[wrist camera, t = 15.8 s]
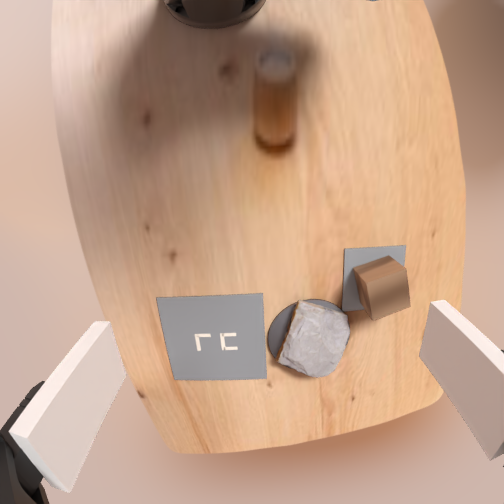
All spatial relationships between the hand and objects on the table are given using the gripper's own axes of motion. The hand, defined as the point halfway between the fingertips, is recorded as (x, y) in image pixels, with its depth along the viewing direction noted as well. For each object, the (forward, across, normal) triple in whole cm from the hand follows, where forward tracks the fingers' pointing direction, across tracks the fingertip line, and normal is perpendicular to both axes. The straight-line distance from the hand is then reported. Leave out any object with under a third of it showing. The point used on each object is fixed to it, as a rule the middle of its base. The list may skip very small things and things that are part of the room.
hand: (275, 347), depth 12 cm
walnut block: (+31, +17, -11) cm, 37 cm away
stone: (+31, +8, -20) cm, 38 cm away
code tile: (+32, -8, -20) cm, 38 cm away
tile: (+32, +17, -11) cm, 38 cm away
